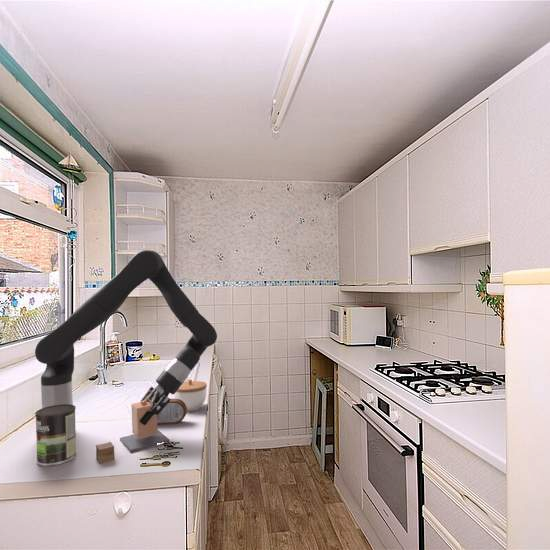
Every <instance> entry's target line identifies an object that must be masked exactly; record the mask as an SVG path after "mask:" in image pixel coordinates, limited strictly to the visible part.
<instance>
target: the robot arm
mask: <svg viewBox="0 0 550 550" xmlns="http://www.w3.org/2000/svg"><path fill="white" fill-rule="evenodd" d="M147 280H150V281H151V283H153V285H154V286H155V287H156V288H157V290H158V291H159V292H160V293H161V295H162V296H163V298H164V300H165V302H166V304H167V305H168V307H169V309H170V310H171V312H172V313H173V314H174V316H175V318H176V319H177V320H178V321H179V322H180V324H181V325H182V326H183V327H185V328H186V329H188V330H189V332H190V333H191V336H190V338H189V339H188V340H187V342H186V343H185V345H184V346H183V348H182V349H181V350H180V351H179V352H178V353H177V354H176V356H175V357H174V358H173V359H172V360H171V361H170V362H169V363H168V364H167V366H166V367H165V368H164V369H163V371H161V373H160V374H159V376H157V378H156V379H155V382H156V383H157V384H158V385H157V386H156V387H153V386H150V387H149V389H148V390H147V391H146V393H145V394H144V396H143V397H142V398H141V400H140V402H141V401H143V400H146V402H147V401H150V400H151V402H150V404H151V406H150V407H149V409H148V411H147V412H146V413H145V414H144V416H143V417H142V418H141V419H140V423H142V424H143V425H146V424H147V422H148V421H149V420H150V419H151V417H152V416H153V415H155V414H156V415H158V414H159V413H160V412H161V411H162V410H163V408H164V407H165V406H166V405H167V404H168V403H169V401H170V400H171V399H172V398H170V397H169V395H175V393H176V391H177V390H178V389H179V388H180V386H181V385H182V384H183V382H186V380H187V378H188V377H189V375H190V374H191V373H192V371H193V369H194V368H195V367H196V366H197V364H198V363H199V362H200V359H201V356H202V355H203V354H204V352H205V351H206V350H207V348H208V347H211V346H213V345H215V343H216V341H217V338H218V333H217V331H216V329H215V327H214V325H212V323H211V322H209V320H207V319H206V318H205V317H204V316H203V315H202V314H201V313H200V312H199V310H198V309H197V307H196V306H195V305H194V304H193V302H192V301H191V299H189V297H188V296H187V295H186V294H185V292H184V291H183V290H182V288H181V287H180V286H179V285H178V283H177V282H176V281H175V279H174V278H173V276H172V274H171V273H170V271H169V269H168V267H167V265H166V263H165V261H164V260H163V257H162V256H161V255H160V254H159V253H158V252H156V251H154V250H149V249H143V250H140V251H138V252H137V253H135V254H134V255H133V256H132V257H131V259H130V260H129V261H128V262H127V263H126V264H125V265H124V266H123V267H122V268H121V270H120V271H119V272H118V273H117V274H116V275H115V276H114V277H112V278H111V279H110V280H108V281H107V282H106V283H105V284H104V285H102V286H101V287H100V288H99V289H97V290H96V291H95V292H94V293H93V294H92V295H91V296H90V297H88V298H87V299H86V300H85V301H84V302H83V303H82V304H81V305H80V306H79V307H78V308H77V309H75V311H74V312H73V313H71V315H70V316H69V317H68V318H67V319H66V320H65V321H64V322H63V323H61V325H59V326H58V327H57V328H55V329H54V330H52V331H51V332H50V333H48V334H47V335H46V336H44V337H42V339H40V340H39V341H38V343H37V344H36V346H35V350H34V355H35V358H36V359H37V361H38V362H39V363H41V364H44V365H46V366H45V369H44V372H43V373H42V375H41V377H40V385H41V386H40V388H41V389H40V392H41V409H42V408H45V407H49V406H53V405H61V404H70V405H74V401H73V373H74V369H75V343H76V342H77V341H78V340H80V339H81V338H82V337H84V336H85V335H87V334H88V333H90V332H92V331H93V330H95V329H96V328H98V327H99V326H101V325H102V324H103V323H105V322H106V321H107V320H108V319H109V318H110V317H112V316H113V315H114V314H115V313H116V312H117V311H118V309H120V308H121V306H122V305H123V304H124V303H125V302H126V299H127V298H128V297H129V295H130V294H131V293H132V292H133V291H134V290H135V289H136V288H137V287H139V286H140V285H141V284H143V283H144V282H145V281H147ZM153 406H154V407H153ZM158 409H159V410H158Z"/></svg>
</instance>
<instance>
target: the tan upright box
mask: <svg viewBox="0 0 550 550" xmlns="http://www.w3.org/2000/svg"><path fill="white" fill-rule="evenodd" d="M140 401H141V400H140ZM150 402H151V400H150V401H147V402H146V400H143V401H141V402H134V403H131V405H130V407H131V427H132V428H131V430H132V435H135V436H136V437H137V438H141V437H145V436H149V435H153V434H157V429H158V424H157V415H156V414H155V415H153V416H152V417H151V419H150V420H149V421H148V422H147V424H146V425H143V424H142V423H140V419H141V418H142V417H143V416H144V414H145V413H146V412H147V411H148V409H149V407H150V406H151V404H150ZM153 407H154V406H153Z"/></svg>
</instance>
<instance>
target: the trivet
mask: <svg viewBox="0 0 550 550" xmlns="http://www.w3.org/2000/svg"><path fill="white" fill-rule="evenodd" d="M119 441H120V442H121V443H122V445H123V446H124V447H125V448H126V449H127V450H128V452H129V453H130V454H131V453H135V452H139V451H142V450H146V449H150V448H153V447H157V446H156V445H157V443H162V442H170V443H171V439H170V438H169V437H167V436H166V435H165V434H163V432H162V431H160V430H159V429H158V428H157V434H153V435H149V436H145V437H141V438H137V437H136V436H135V435H134V434H131V435H130V434H129V435H127V436H122V437H119Z"/></svg>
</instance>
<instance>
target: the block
mask: <svg viewBox="0 0 550 550" xmlns="http://www.w3.org/2000/svg"><path fill="white" fill-rule="evenodd" d="M95 448H96V449H95V453H96V456H95V457H96V461H97V463H98V464H99V465H101V464H104V463H108V462H112V460H113V461H115V445H114V444H113V442H112V441H108V442H104V443H101V444H96V445H95Z"/></svg>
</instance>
